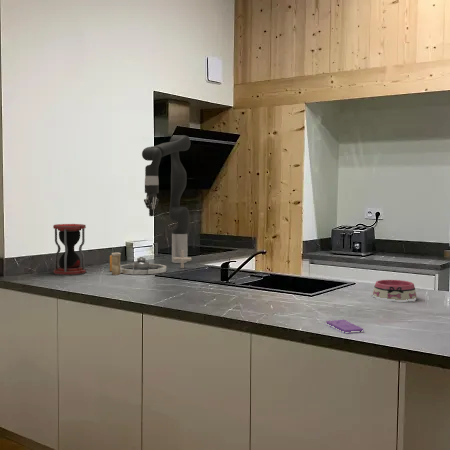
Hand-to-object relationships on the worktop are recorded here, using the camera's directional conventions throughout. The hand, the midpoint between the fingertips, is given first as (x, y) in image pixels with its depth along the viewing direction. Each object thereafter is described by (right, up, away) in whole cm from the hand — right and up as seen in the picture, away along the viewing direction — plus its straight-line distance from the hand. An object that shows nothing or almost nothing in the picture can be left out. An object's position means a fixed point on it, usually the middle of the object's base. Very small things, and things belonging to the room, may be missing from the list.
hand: (151, 216), depth 313 cm
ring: (-6, -29, -7) cm, 31 cm away
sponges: (+80, -40, -124) cm, 153 cm away
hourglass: (-40, -30, -16) cm, 53 cm away
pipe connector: (+16, -29, +6) cm, 34 cm away
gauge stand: (-16, -30, -19) cm, 39 cm away
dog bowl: (+112, -36, -71) cm, 137 cm away
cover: (-4, -30, -8) cm, 31 cm away
